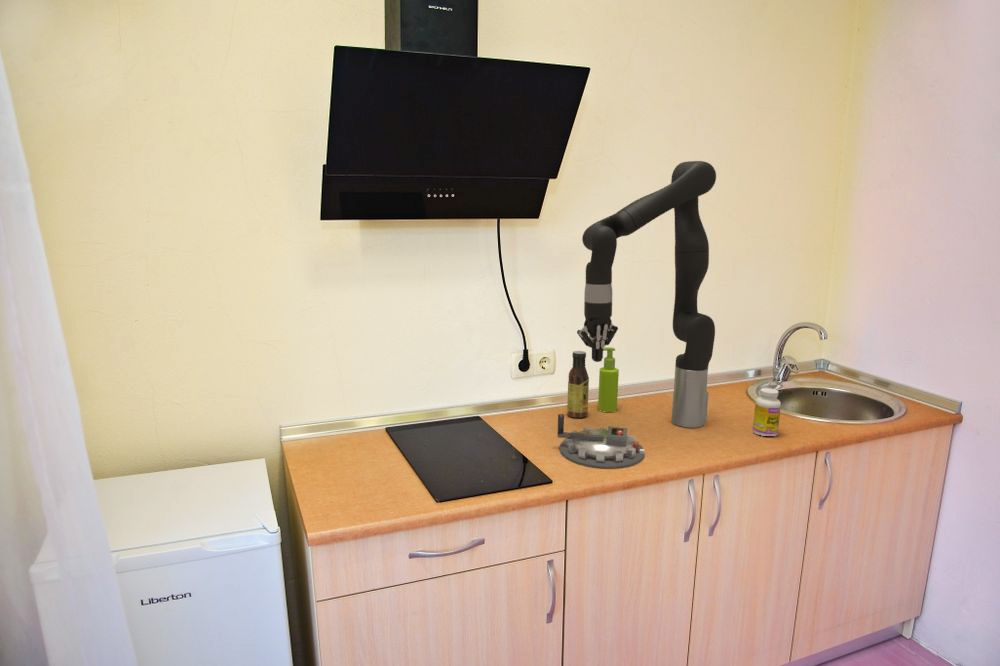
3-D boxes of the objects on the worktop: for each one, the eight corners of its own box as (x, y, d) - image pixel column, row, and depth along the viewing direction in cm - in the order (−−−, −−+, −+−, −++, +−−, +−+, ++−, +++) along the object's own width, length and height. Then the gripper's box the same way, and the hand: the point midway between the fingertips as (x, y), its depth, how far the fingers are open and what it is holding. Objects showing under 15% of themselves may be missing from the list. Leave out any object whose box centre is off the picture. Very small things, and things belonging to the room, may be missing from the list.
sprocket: (561, 431, 182) (561, 403, 180) (638, 437, 178) (639, 409, 176) (553, 457, 164) (553, 427, 162) (638, 464, 160) (640, 433, 158)
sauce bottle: (586, 419, 194) (589, 355, 190) (566, 418, 196) (567, 354, 191) (588, 412, 201) (590, 350, 196) (568, 411, 202) (570, 349, 198)
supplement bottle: (765, 439, 180) (769, 395, 177) (747, 431, 186) (751, 388, 183) (783, 435, 183) (787, 392, 180) (764, 428, 188) (769, 385, 186)
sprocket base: (608, 430, 185) (608, 425, 185) (662, 458, 167) (662, 452, 166) (543, 444, 175) (544, 439, 175) (593, 475, 156) (594, 469, 156)
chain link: (608, 435, 174) (608, 426, 173) (627, 436, 173) (627, 428, 172) (606, 444, 167) (606, 435, 167) (626, 446, 166) (626, 437, 165)
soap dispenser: (592, 406, 206) (595, 345, 202) (613, 406, 207) (616, 345, 202) (597, 413, 200) (599, 350, 196) (619, 412, 201) (622, 349, 197)
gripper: (587, 304, 170) (586, 367, 174) (626, 299, 176) (624, 360, 180) (570, 300, 176) (569, 361, 180) (608, 295, 182) (607, 354, 186)
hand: (597, 361), depth 180 cm, fingers closed
